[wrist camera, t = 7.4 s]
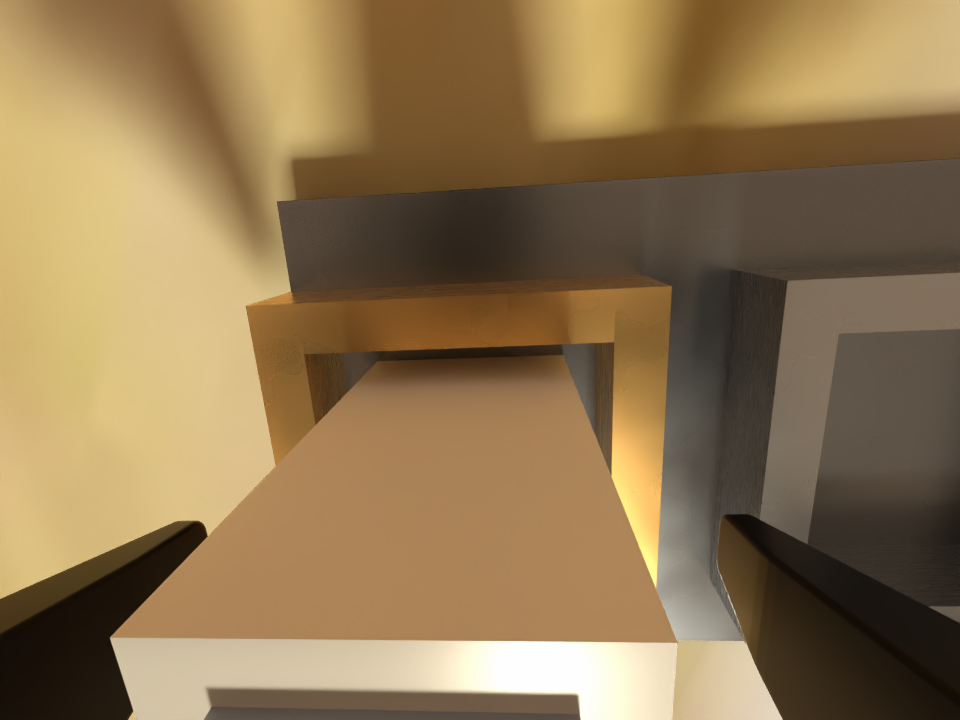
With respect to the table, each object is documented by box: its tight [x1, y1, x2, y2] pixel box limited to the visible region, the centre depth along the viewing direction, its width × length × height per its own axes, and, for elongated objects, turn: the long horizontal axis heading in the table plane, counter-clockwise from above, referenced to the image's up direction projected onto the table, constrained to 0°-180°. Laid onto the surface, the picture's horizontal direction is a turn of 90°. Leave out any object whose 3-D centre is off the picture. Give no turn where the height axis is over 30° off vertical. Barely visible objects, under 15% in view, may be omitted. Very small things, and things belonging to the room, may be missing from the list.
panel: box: [246, 158, 960, 643], centre depth 11 cm, size 18×12×3 cm, turn 93°
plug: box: [110, 355, 678, 720], centre depth 8 cm, size 4×4×8 cm
